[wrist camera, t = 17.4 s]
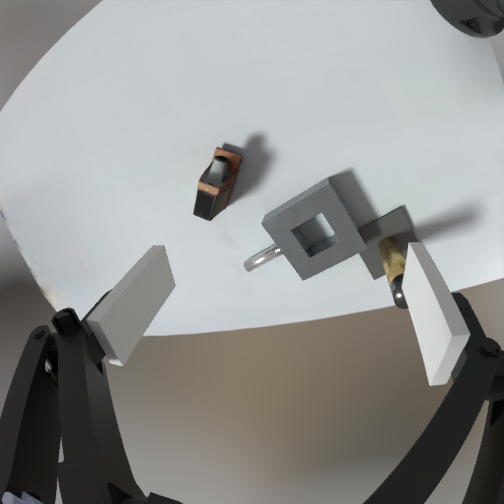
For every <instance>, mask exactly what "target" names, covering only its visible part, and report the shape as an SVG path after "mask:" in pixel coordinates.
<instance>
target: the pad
mask: <svg viewBox="0 0 504 504" xmlns="http://www.w3.org/2000/svg"><path fill="white" fill-rule="evenodd" d="M359 230H360V232H361V234H362V235H363V237H364V239H365V241H366V245H367V249H365V250H364V251H362V252H360V253H359V254H360V256H361V257H362V259H363V261H364V263H365V264H366V266H367V268H368V270H369V272H370V273H371V275H372V277H373V279H374V280H375V279H377V278H379V277H381V276H383V275H385V274H386V272H385V269H384V266H383V263H382V260H381V257H380V254H379V251H378V244H379V242H380V240H381V239H383V238H385V237H393V238H394V239H396V241H397V243H398V245H399V247H400V249H401V251H402V253H403V255H404V257H405V260H406V259H407V252H408V244H409V242H417V240H416V237H415V235H414V233H413V230H412V228H411V226H410V224H409V222H408V219H407V217H406V215H405V213H404V211H403V209H402V207H401V206H400V207H398V208H396V209H395V210H393V211H391V212H389V213H387V214H386V215H384V216H382V217H380V218H378V219H376V220H375V221H373V222H371V223H369V224H367V225H365V226H364V227H362V228H360V229H359Z"/></svg>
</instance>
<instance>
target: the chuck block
mask: <svg viewBox="0 0 504 504" xmlns="http://www.w3.org/2000/svg"><path fill="white" fill-rule="evenodd" d="M320 213H323V215H324V217H325V218H326V220H327V221H328V223H329V224H330V226H331V228H332V229H333V231H334V232H335V235H333V236H331V237H329V238H327V239H325V240H323V241H322V242H320V243H318V244H316V245H314V246H312V247H310V246H309V245H308V243H307V242H306V240H305V239H304V238H303V236H302V235H301V233H300V232H299V230H298V229H297V226H299V225H301V224H302V223H304V222H306V221H308V220H309V219H311V218H313V217H315V216H317V215H318V214H320ZM261 224H262V226H263V227H264V228H265V230H266V231H267V232H268V234H269V235H270V236H271V238H272V239H273V240H274V242H275V243H276V244H275V245H274V246H272V247H270V248H268V249H266V250H265V251H263V252H261V253H259V254H258V255H256V256H254V257H252V258H250V259H249V260H247V261H245V262H244V267H245V269H246V270H247V271H248V272H250V271H252V270H254V269H256V268H258V267H260V266H262V265H263V264H265V263H267V262H269V261H271V260H273V259H275V258H277V257H278V256H280V255H282V254H284V255H285V257H286V258H287V259H288V261H289V262H290V263H291V265H292V266H293V268H294V269H295V270H296V272H297V273H298V274H299V276H300V277H301V279H302V280H303V281H304V280H306V279H308V278H310V277H312V276H314V275H316V274H318V273H320V272H322V271H324V270H326V269H328V268H330V267H332V266H334V265H336V264H338V263H340V262H342V261H344V260H346V259H348V258H350V257H352V256H354V255H356V254H358V253H360V252H362V251H364V250H365V249H367V245H366V241H365V239H364V237H363V235H362V234H361V232H360V230H359V228H358V226H357V224H356V222H355V221H354V219H353V217H352V216H351V214H350V212H349V211H348V209H347V207H346V206H345V204H344V202H343V201H342V199H341V197H340V196H339V194H338V192H337V191H336V189H335V188H334V186H333V184H332V183H331V181H330V180H329V178H326V179H324V180H323V181H321V182H319V183H318V184H316V185H314V186H313V187H311V188H309V189H308V190H306V191H304V192H303V193H301V194H299V195H298V196H296V197H294V198H293V199H291V200H289V201H288V202H286V203H284V204H283V205H281V206H279V207H278V208H276V209H274V210H273V211H271V212H269V213H268V214H266V215H265V216H264V219H263V221H262V223H261Z"/></svg>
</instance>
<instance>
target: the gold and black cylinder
mask: <svg viewBox="0 0 504 504" xmlns="http://www.w3.org/2000/svg"><path fill="white" fill-rule="evenodd" d="M378 251H379V254H380V257H381V260H382V263H383V266H384V269H385V272H386V275H387V278H388V282H389V285H390V288H391V292H392V295H393V299H394V302H395V304H396V306H398V307H399V308H402V309H406V308H408V305H407V302H406V299H405V296H404V293H403V290H402V283H403V277H404V271H405V265H406V260H405V257H404V255H403V253H402V251H401V249H400V247H399V245H398V243H397V241H396V239H394V238H393V237H385V238H383V239H381V240H380V242H379V244H378Z"/></svg>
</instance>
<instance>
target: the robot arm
mask: <svg viewBox="0 0 504 504" xmlns="http://www.w3.org/2000/svg"><path fill="white" fill-rule="evenodd" d="M430 1H431V2H432V4H433V5H434V7H435V8H436V10H437V11H438V12H439V13H440V14H441V15H442V16H443V18H444V19H446V20H447V21H448V22H449V23H450V24H451V25H453V26H454V27H455V28H457V29H458V30H460V31H462V32H463V33H465V34H468V35H470V36H473V37H478V38H486V37H490V36H494V35H497V34H498V33H500V32H501V31H502V30H503V29H504V0H430ZM175 286H176V285H175V282H174V278H173V275H172V271H171V268H170V264H169V261H168V257H167V254H166V250H165V246H164V245H161V246H152V247H151V248H150V249H149V250H148V251H147V252H146V253H145V255H144V256H143V257H142V258H141V259H140V260H139V261H138V262H137V263H136V264H135V265H134V266H133V267H132V268H131V269H130V270H129V272H128V273H127V274H126V275H125V276H124V277H123V278H122V279H121V280H120V281H119V282H118V284H117V285H116V286H115V287H114V288H113V289H111V290H110V291H108V292H107V293H105V294H104V295H103V296H102V297H101V299H100V300H99V302H97V303H96V304H95V305H94V307H93V308H92V309H91V310H90V311H89V312H88V313H87V314H86V316H85V317H84V318H83V319H82V320H81V321H80V320H79V318H78V316H77V314H76V312H75V310H74V309H72V308H65V309H62V310H60V311H59V312H57V313H56V314H55V315H54V316H53V318H52V320H51V321H52V323H53V325H54V327H55V329H56V330H57V332H58V333H52V332H51V330H50V328H49V327H48V326H46V325H43V326H39V327H37V328H35V329H34V330H33V331H32V333H31V334H30V336H29V338H28V341H27V343H26V345H25V348H24V350H23V353H22V355H21V358H20V360H19V363H18V366H17V368H16V371H15V374H14V377H13V379H12V382H11V385H10V388H9V391H8V394H7V398H6V401H5V404H4V407H3V411H2V414H1V418H0V504H55V500H56V489H57V476H58V482H59V487H60V493H61V498H62V503H63V504H182V503H181V502H179V501H176V500H173V499H170V498H167V497H164V496H160V495H158V494H155V493H152V492H150V495H149V497H145V495H144V494H143V492H142V490H141V489H140V488H139V486H138V485H137V484H136V482H135V480H134V478H133V474H132V471H131V469H130V465H129V462H128V459H127V456H126V453H125V449H124V446H123V442H122V439H121V435H120V432H119V428H118V424H117V420H116V416H115V412H114V408H113V403H112V398H111V394H110V389H109V384H108V379H107V373H106V368H105V364H104V362H103V360H102V359H103V358H104V356H105V355H106V356H107V358H108V360H109V361H110V363H112V364H116V365H120V366H123V365H124V364H125V362H126V361H127V359H128V357H129V356H130V354H131V353H132V351H133V350H134V348H135V346H136V345H137V343H138V342H139V340H140V339H141V337H142V336H143V334H144V333H145V331H146V329H147V328H148V326H149V325H150V323H151V322H152V320H153V319H154V317H155V316H156V314H157V313H158V311H159V310H160V308H161V307H162V305H163V304H164V302H165V301H166V299H167V298H168V296H169V295H170V293H171V292H172V290H173V289H174V287H175ZM402 290H403V293H404V296H405V299H406V302H407V305H408V308H409V311H410V314H411V318H412V321H413V324H414V327H415V331H416V334H417V338H418V341H419V345H420V348H421V352H422V356H423V360H424V364H425V368H426V372H427V376H428V380H429V385H430V386H432V385H439V384H446V383H447V381H448V379H449V377H450V375H452V378H453V384H452V386H451V388H450V389H449V391H448V393H447V394H446V396H445V398H444V400H443V401H442V403H441V405H440V406H439V408H438V409H437V411H436V413H435V414H434V416H433V418H432V419H431V420H430V422H429V423H428V425H427V426H426V428H425V429H424V431H423V432H422V433H421V435H420V436H419V438H418V439H417V440H416V442H415V443H414V445H413V446H412V447H411V449H410V450H409V451H408V453H407V454H406V455H405V456H404V458H403V459H402V460H401V461H400V463H399V464H398V465H397V466H396V468H395V469H394V470H393V471H392V472H391V474H390V475H389V476H388V477H387V478H386V479H385V480H384V482H383V483H382V484H381V485H380V486H379V487H378V488H377V489H376V490H375V491H374V493H373V494H372V495H371V496H370V497H369V498H368V499H367V500H366V501H365V502H364V503H363V504H424V503H425V502H426V500H427V499H428V498H429V496H430V495H431V493H432V492H433V491H434V489H435V488H436V486H437V485H438V483H439V482H440V480H441V479H442V478H443V476H444V475H445V473H446V472H447V470H448V468H449V467H450V465H451V464H452V462H453V460H454V459H455V457H456V455H457V454H458V452H459V450H460V449H461V447H462V445H463V443H464V441H465V440H466V438H467V436H468V434H469V432H470V430H471V428H472V426H473V424H474V422H475V420H476V418H477V416H478V414H479V412H480V410H481V407H482V405H483V403H484V401H485V400H487V401H489V407H488V413H487V418H486V423H485V428H484V433H483V437H482V442H481V446H480V450H479V454H478V457H477V461H476V464H475V468H474V471H473V474H472V477H471V480H470V483H469V486H468V489H467V492H466V495H465V497H464V500H463V502H462V504H504V351H502V350H501V348H500V346H499V345H498V343H497V342H495V341H494V340H493V339H491V338H487V337H486V336H485V334H484V331H483V329H482V327H481V326H480V323H479V321H478V319H477V317H476V316H475V313H474V311H473V310H472V309H471V306H470V304H469V302H468V300H467V299H466V298H465V297H464V296H463V295H462V294H461V293H450V291H449V289H448V287H447V285H446V283H445V281H444V279H443V278H442V276H441V274H440V272H439V270H438V268H437V267H436V265H435V263H434V261H433V260H432V258H431V256H430V255H429V253H428V251H427V250H426V248H425V246H424V245H423V243H422V242H409V244H408V252H407V259H406V265H405V271H404V277H403V283H402ZM45 364H46V365H47V367H48V368H49V369H48V372H46V370H45ZM61 437H62V447H63V454H64V461H63V462H60V463H58V460H59V449H60V440H61Z"/></svg>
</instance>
